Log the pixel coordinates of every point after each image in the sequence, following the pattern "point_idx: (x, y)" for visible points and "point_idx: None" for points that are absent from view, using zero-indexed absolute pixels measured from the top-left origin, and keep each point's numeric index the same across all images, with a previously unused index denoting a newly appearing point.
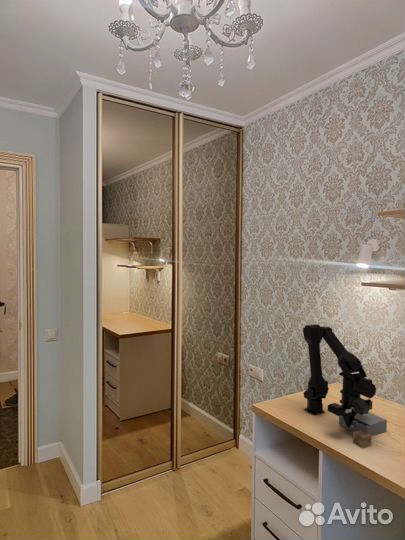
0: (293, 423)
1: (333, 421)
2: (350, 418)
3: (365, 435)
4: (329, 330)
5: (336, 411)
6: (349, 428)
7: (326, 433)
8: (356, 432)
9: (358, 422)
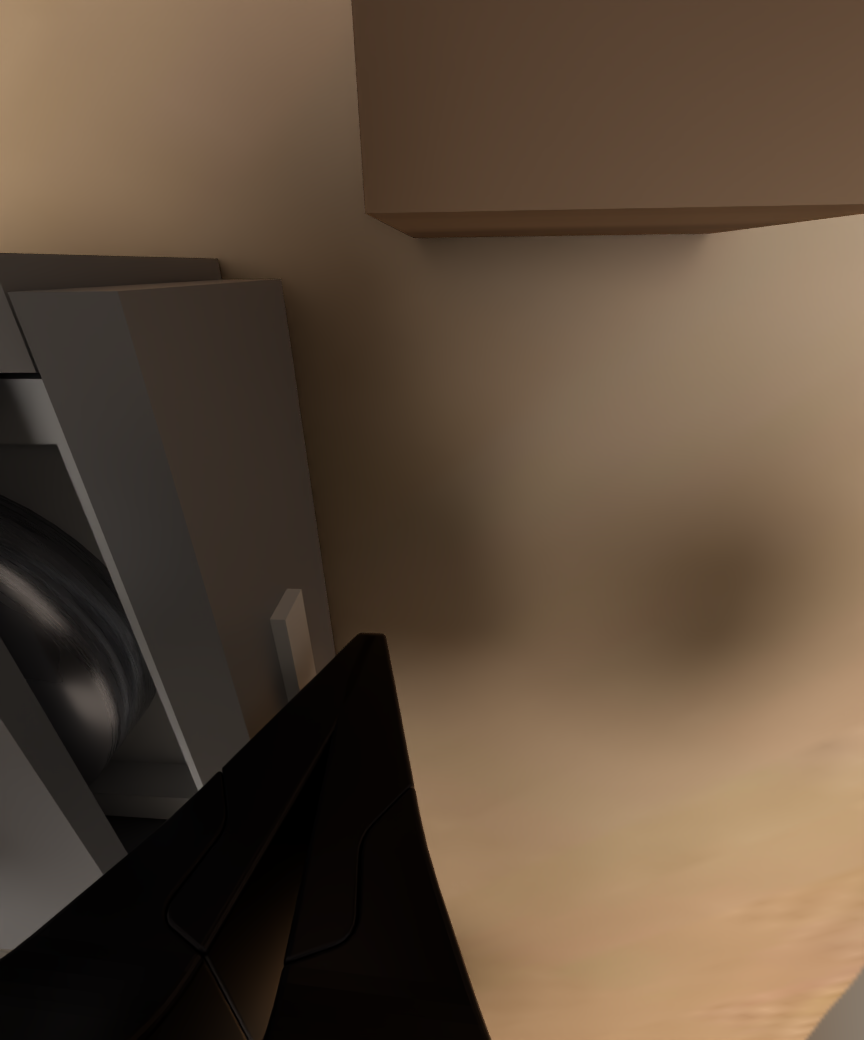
0: (809, 949)
1: None
2: (339, 867)
3: None
4: None
5: None
6: (322, 633)
7: (747, 700)
8: (824, 103)
9: (67, 656)
